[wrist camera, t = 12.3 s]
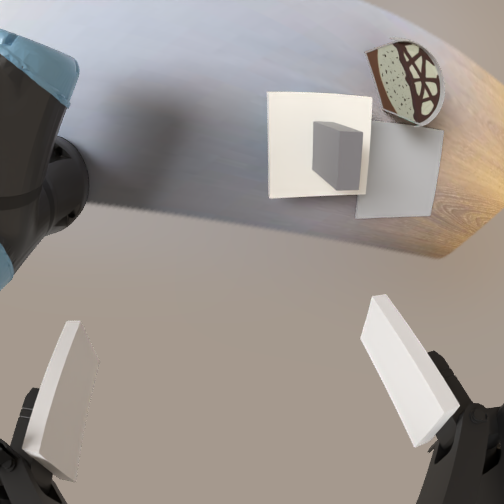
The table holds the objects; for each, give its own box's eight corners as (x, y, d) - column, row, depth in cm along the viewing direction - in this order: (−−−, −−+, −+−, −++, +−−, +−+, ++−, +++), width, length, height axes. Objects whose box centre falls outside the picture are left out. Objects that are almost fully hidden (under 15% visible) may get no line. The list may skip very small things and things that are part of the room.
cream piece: (268, 195, 39) (284, 226, 31) (266, 91, 32) (285, 92, 24) (362, 191, 40) (395, 218, 32) (368, 96, 33) (408, 103, 26)
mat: (354, 217, 49) (356, 218, 48) (364, 119, 41) (365, 120, 40) (428, 214, 50) (430, 215, 50) (442, 130, 42) (443, 130, 42)
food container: (414, 109, 40) (455, 120, 32) (384, 118, 41) (423, 130, 32) (393, 37, 34) (434, 32, 25) (360, 42, 34) (398, 36, 26)
